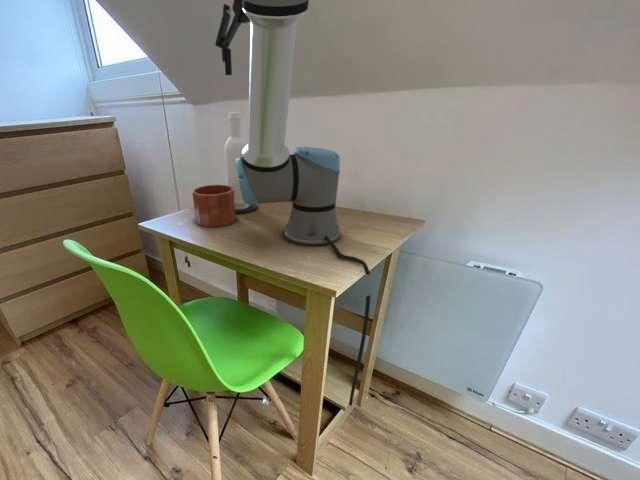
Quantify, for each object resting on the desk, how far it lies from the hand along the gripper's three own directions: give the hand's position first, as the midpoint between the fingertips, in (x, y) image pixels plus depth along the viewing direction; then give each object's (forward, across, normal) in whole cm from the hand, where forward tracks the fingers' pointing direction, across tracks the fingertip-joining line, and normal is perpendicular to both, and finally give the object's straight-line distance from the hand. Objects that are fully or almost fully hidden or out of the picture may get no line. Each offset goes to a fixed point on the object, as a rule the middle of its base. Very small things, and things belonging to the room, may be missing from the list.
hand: (248, 73), depth 101 cm
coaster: (+40, +5, +1) cm, 41 cm away
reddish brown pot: (+41, +6, +16) cm, 44 cm away
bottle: (+40, +5, +1) cm, 40 cm away
